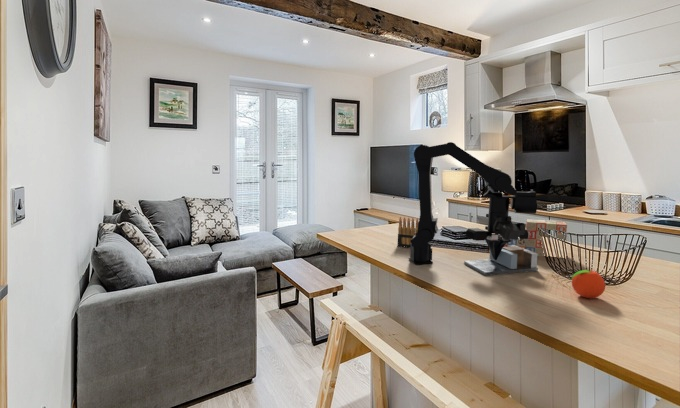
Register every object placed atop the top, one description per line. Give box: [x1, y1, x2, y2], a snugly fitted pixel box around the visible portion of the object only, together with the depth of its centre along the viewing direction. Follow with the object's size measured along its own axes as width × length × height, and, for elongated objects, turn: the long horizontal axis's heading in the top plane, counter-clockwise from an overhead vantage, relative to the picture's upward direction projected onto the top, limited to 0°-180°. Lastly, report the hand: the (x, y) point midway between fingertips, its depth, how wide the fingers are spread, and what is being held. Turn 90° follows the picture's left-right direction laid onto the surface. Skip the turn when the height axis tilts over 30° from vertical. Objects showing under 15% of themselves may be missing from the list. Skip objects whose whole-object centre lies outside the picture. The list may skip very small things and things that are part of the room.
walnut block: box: [503, 246, 524, 265], centre depth 113 cm, size 5×4×5 cm
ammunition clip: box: [396, 216, 419, 248], centre depth 139 cm, size 11×2×12 cm, turn 59°
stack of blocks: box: [504, 218, 568, 257], centre depth 127 cm, size 21×6×12 cm, turn 61°
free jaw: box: [489, 248, 517, 269], centre depth 112 cm, size 2×11×4 cm, turn 10°
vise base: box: [463, 245, 539, 277], centre depth 112 cm, size 18×12×6 cm, turn 100°
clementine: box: [570, 269, 606, 299], centre depth 88 cm, size 8×7×7 cm
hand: (495, 259), depth 112 cm, fingers closed
